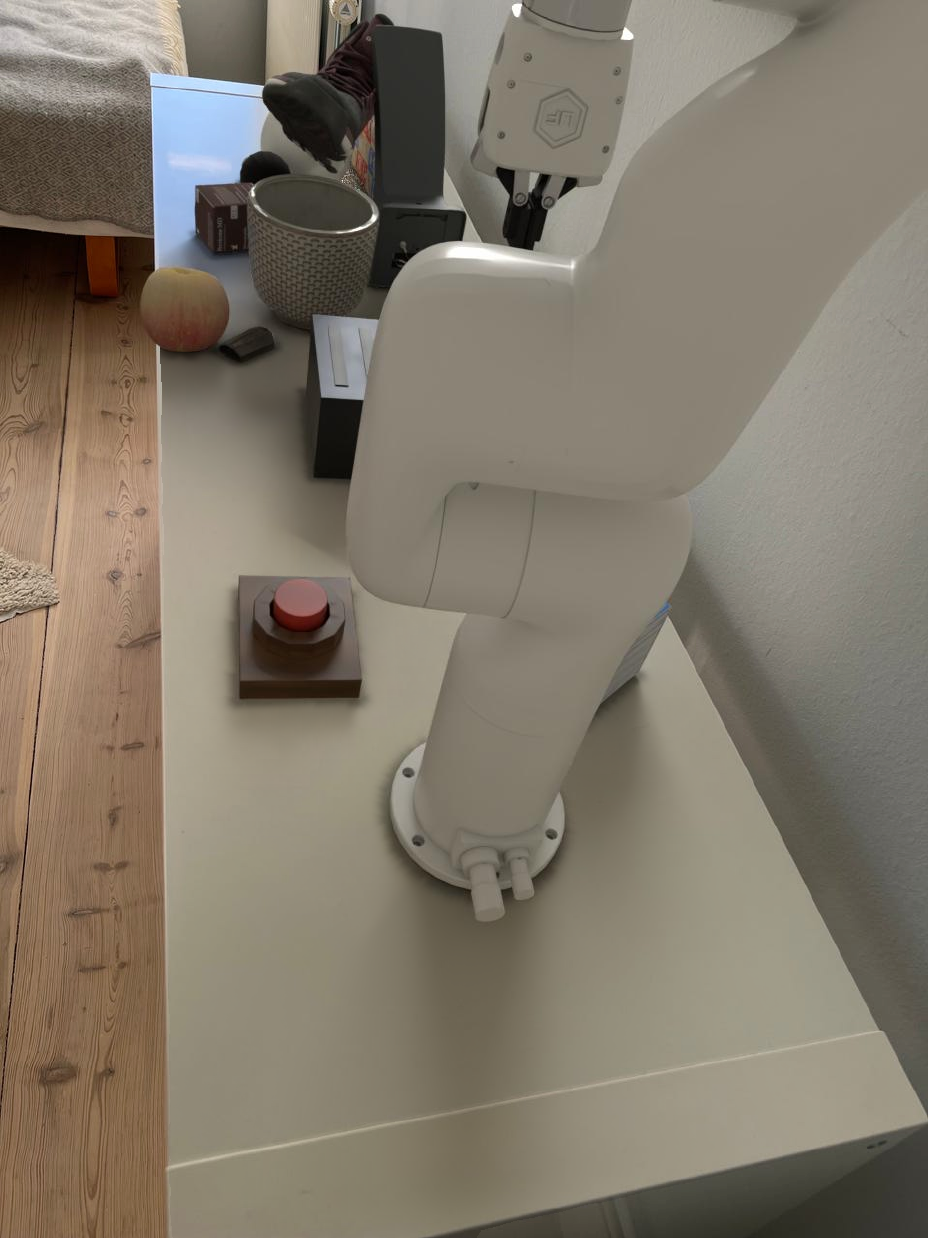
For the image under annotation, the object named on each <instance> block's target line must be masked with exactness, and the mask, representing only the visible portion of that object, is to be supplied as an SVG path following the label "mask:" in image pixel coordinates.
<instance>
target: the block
mask: <svg viewBox="0 0 928 1238" xmlns="http://www.w3.org/2000/svg"><path fill="white" fill-rule="evenodd" d="M275 344H276V341H275V337H274V334H273V332H272V330H270V329H269V328H267V327H264V326H261V325H259V326H253V327H250V328H247V329H245V330H244V331H242V332H240V333H238V334H237V335H235V336H233V337H231V338H229V339H228V340H226V341H224V342H222V343H221V344H219V346H218V351H219V352H220V353H222V354H224V355H225V356H227V357H230V358H231V359H233V360H235V361H236V362H239V363H242V362H244V361H247V360H250V359H252V358H254V357H257V356H259V355H262V354H264V353H266V352H269V351H272V350H274V349H275Z"/></svg>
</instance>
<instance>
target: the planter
mask: <svg viewBox="0 0 928 1238" xmlns="http://www.w3.org/2000/svg"><path fill="white" fill-rule="evenodd" d="M379 215H380V214H379V209H378V207H377V205H376V204H375V202H374V201H373V200H372V199H371V198H370V197H369V195H368V194H367V193H365V192H364V191H362V190H360V189H358V188H356V187H354V186H352V185H351V184H348V183H347V182H346V183H345V182H343V181H337V180H333V179H330V178H326V177H320V176H314V175H305V174H285V175H277V176H272V177H268V178H265V179H263V180H261V181H259V182H257V183H256V184H254V185H253V186H252V187H251V189H250V191H249V193H248V198H247V225H248V249H249V252H248V260H249V270H250V275H251V280H252V284H253V288H254V290H255V292H256V294H257V296H258V298H259V299H260V300H261V302H263V303H264V304H265V306H267V307H268V308H269V309H270V310H271V311H273V312H274V313H275V314H276V316H277V317H278V318H279V319H280V320H281V321H282V322H283V323H285V324H287V325H289V326H291V327H294V328H296V329H302V330H310V331H311V318H312V314H317V315H328V316H340V317H347V316H348V315H349V314H351V313H352V312H353V311H354V310H355V309H356V308H357V307H358V305H359V304H360V302H361V301H362V298H363V297H364V294H365V292H366V288H367V284H368V282H369V273H370V269H371V265H372V260H373V255H374V250H375V244H376V240H377V234H378V228H379V220H380V218H379Z"/></svg>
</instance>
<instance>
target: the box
mask: <svg viewBox="0 0 928 1238" xmlns="http://www.w3.org/2000/svg"><path fill="white" fill-rule="evenodd" d="M252 186H253V184H252V183H240V182H234V183H216V184H215V183H214V184H196V185H195V186H194V225H195V226H194V227H195V235H196V236H197V238H199V239H200V241H201V242H202V243H203V244H204V246H205V247H206V248H207V249H208V250H209V252H210V253H211V254H212V255H213V256H218V255H229V254H238V253H249V249H248V225H247V198H248V193H249V191H250V189H251V187H252Z"/></svg>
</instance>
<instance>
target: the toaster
mask: <svg viewBox="0 0 928 1238" xmlns="http://www.w3.org/2000/svg"><path fill="white" fill-rule="evenodd" d="M378 321H379V319H375V318H374V319H373V318H363V317H353V316H351V317H349V316H344V317H340V316H328V315H317V314H312V318H311V330H310V331H309V333H310V334H309V344H308V357H307V368H306V381H305V401H306V412H307V425H308V434H309V445H310V446H309V447H310V457H311V467H312V477H313V478H317V479H318V478H319V479H320V478H321V479H341V480H342V479H344V480H351V478H352V472H353V466H354V459H355V453H356V446H357V440H358V433H359V427H360V420H361V414H362V407H363V401H364V395H365V388H366V382H367V376H368V369H369V363H370V357H371V352H372V348H373V343H374V339H375V334H376V329H377V325H378Z"/></svg>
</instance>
